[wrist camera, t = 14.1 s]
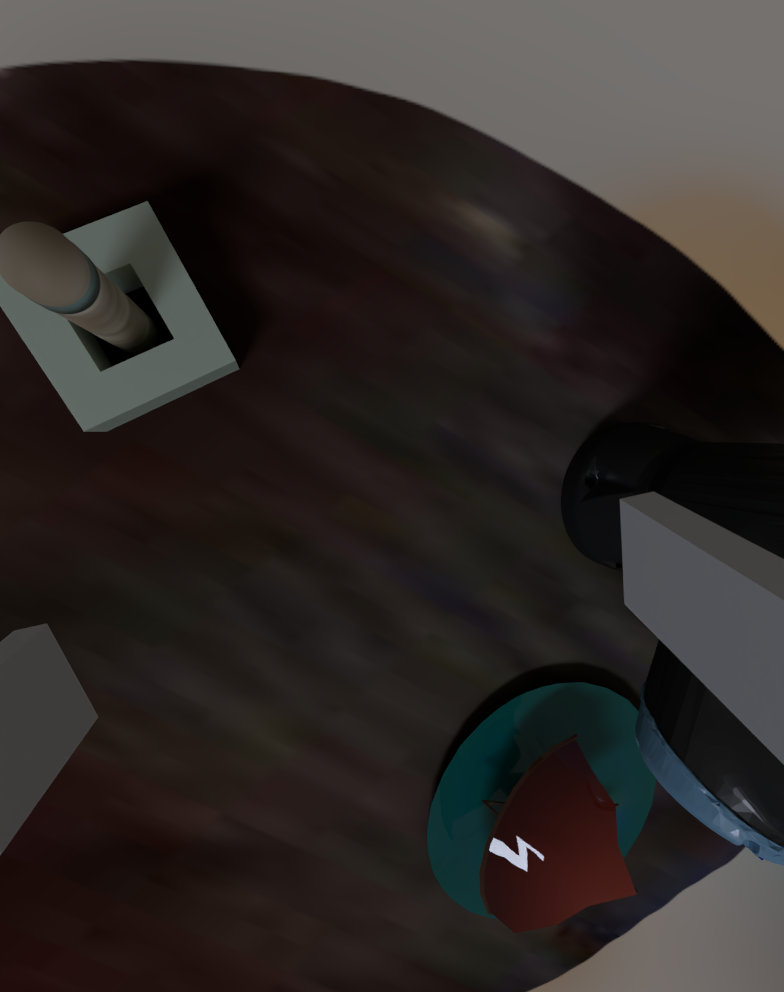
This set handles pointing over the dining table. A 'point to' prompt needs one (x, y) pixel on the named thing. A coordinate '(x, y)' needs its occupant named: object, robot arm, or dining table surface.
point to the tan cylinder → (72, 286)
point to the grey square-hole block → (148, 376)
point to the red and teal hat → (542, 807)
